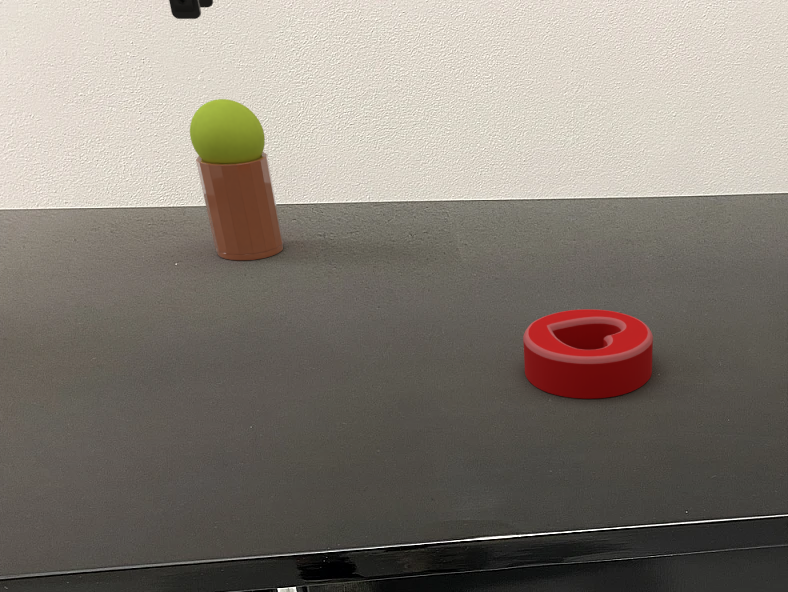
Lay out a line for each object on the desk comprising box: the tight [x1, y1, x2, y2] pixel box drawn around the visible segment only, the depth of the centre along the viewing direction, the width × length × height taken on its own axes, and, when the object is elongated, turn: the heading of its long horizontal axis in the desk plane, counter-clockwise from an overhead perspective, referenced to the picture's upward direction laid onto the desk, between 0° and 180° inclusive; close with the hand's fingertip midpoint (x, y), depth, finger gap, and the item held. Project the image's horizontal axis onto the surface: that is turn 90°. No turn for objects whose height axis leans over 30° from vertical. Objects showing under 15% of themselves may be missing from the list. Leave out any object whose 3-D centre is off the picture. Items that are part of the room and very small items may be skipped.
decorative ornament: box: [522, 308, 654, 400], centre depth 72 cm, size 10×10×3 cm
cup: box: [195, 151, 284, 261], centre depth 93 cm, size 6×6×9 cm
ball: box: [189, 98, 266, 164], centre depth 89 cm, size 6×6×6 cm
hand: (194, 12), depth 84 cm, fingers open, 8 cm apart
